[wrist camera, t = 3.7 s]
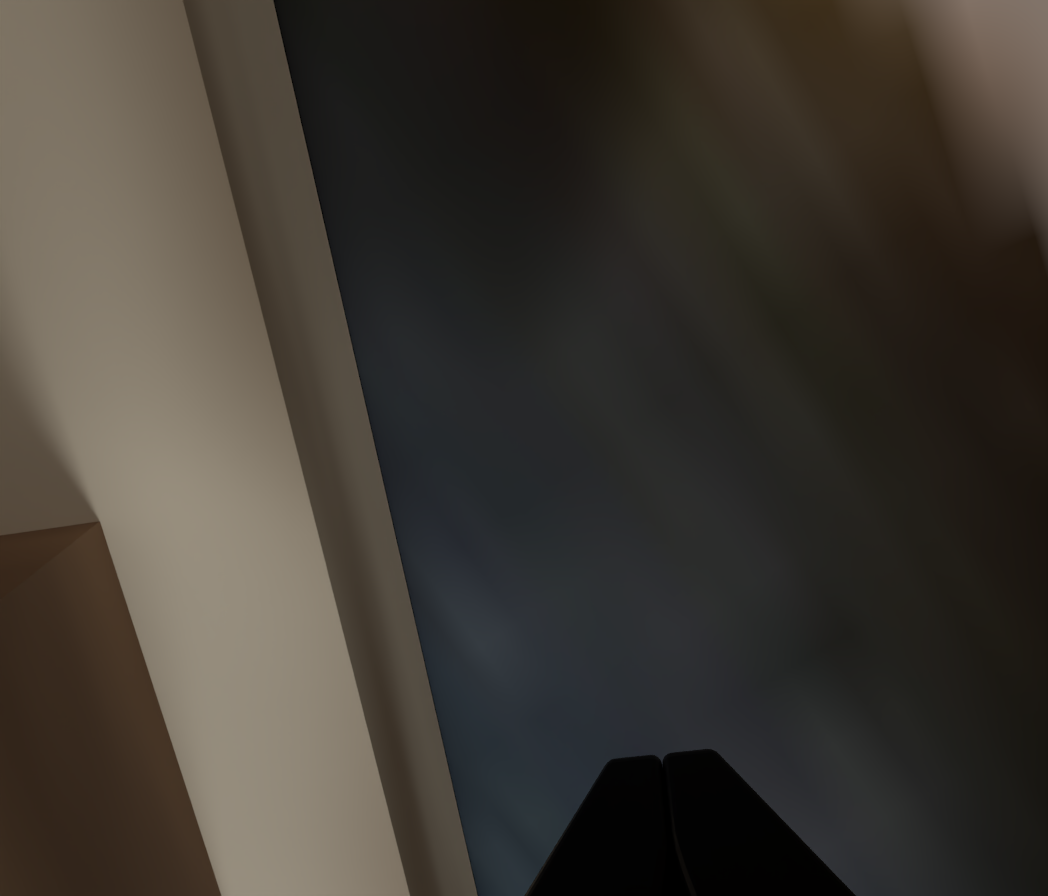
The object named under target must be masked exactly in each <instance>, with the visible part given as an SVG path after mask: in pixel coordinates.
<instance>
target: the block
mask: <svg viewBox="0 0 1048 896" xmlns="http://www.w3.org/2000/svg"><path fill="white" fill-rule="evenodd" d="M0 896H221V893H220V890H219V887H218V884H217V881H216V878H215V874H214V871H213V868H212V865H211V862H210V859H209V856H208V853H207V850H206V847H205V844H204V841H203V837H202V834H201V831H200V828H199V825H198V822H197V819H196V816H195V813H194V810H193V807H192V804H191V800H190V797H189V794H188V791H187V788H186V785H185V782H184V779H183V776H182V773H181V770H180V767H179V764H178V760H177V757H176V754H175V751H174V748H173V745H172V742H171V739H170V736H169V733H168V730H167V727H166V723H165V720H164V717H163V714H162V711H161V708H160V705H159V702H158V699H157V696H156V693H155V690H154V687H153V683H152V680H151V677H150V674H149V671H148V668H147V665H146V662H145V659H144V656H143V653H142V650H141V646H140V643H139V640H138V637H137V634H136V631H135V628H134V625H133V622H132V619H131V616H130V613H129V610H128V606H127V603H126V600H125V597H124V594H123V591H122V588H121V585H120V582H119V579H118V576H117V573H116V569H115V566H114V563H113V560H112V557H111V554H110V551H109V548H108V545H107V542H106V539H105V536H104V532H103V529H102V526H101V523H100V521H98V522H91V523H84V524H77V525H70V526H63V527H56V528H49V529H42V530H35V531H28V532H21V533H14V534H7V535H0Z"/></svg>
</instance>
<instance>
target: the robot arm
mask: <svg viewBox="0 0 1048 896" xmlns="http://www.w3.org/2000/svg"><path fill="white" fill-rule="evenodd" d="M525 896H856V895H855V894H854V893H853V892H852V891H851V890H850V889H849V888H848V887H847V886H846V885H845V884H844V883H843V882H842V881H841V880H840V879H839V878H838V877H837V876H836V875H835V874H834V873H833V872H832V871H831V870H830V869H829V867H828V866H827V865H826V864H825V863H824V862H823V861H822V860H821V859H820V858H819V857H818V856H817V855H816V854H815V853H814V852H813V851H812V850H811V849H810V848H809V847H808V846H807V845H806V844H805V843H804V842H803V841H802V840H801V839H800V837H799V836H798V835H797V834H796V833H795V832H794V831H793V830H792V829H791V828H790V827H789V826H788V825H787V824H786V823H785V822H784V821H783V820H782V819H781V818H780V817H779V816H778V815H777V814H776V813H775V812H774V811H773V810H772V809H771V807H770V806H769V805H768V804H767V803H766V802H765V801H764V800H763V799H762V798H761V797H760V796H759V795H758V794H757V793H756V792H755V791H754V790H753V789H752V788H751V787H750V786H749V785H748V784H747V783H746V782H745V781H744V780H743V779H742V778H741V776H740V775H739V774H738V773H737V772H736V771H735V770H734V769H733V768H732V767H731V766H730V765H729V764H728V763H727V762H726V761H725V760H724V759H723V758H722V757H721V756H720V755H719V754H718V753H717V752H716V751H714V750H712V749H702V750H693V751H684V752H674V753H669V754H667V755H666V756H665V757H664V759H663V767H662V763H661V760H660V759H659V758H658V757H657V756H655V755H646V756H636V757H626V758H616V759H612V760H610V761H609V762H608V763H607V764H606V765H605V766H604V768H603V770H602V771H601V773H600V775H599V776H598V778H597V779H596V781H595V783H594V784H593V786H592V787H591V789H590V791H589V792H588V794H587V796H586V797H585V799H584V800H583V802H582V804H581V805H580V807H579V809H578V810H577V812H576V813H575V815H574V817H573V818H572V820H571V821H570V823H569V825H568V826H567V828H566V830H565V831H564V833H563V834H562V836H561V838H560V839H559V841H558V843H557V844H556V846H555V847H554V849H553V851H552V852H551V854H550V855H549V857H548V859H547V860H546V862H545V864H544V865H543V867H542V868H541V870H540V872H539V873H538V875H537V876H536V878H535V880H534V881H533V883H532V885H531V886H530V888H529V889H528V891H527V893H526V894H525Z"/></svg>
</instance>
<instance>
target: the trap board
mask: <svg viewBox="0 0 1048 896" xmlns="http://www.w3.org/2000/svg"><path fill="white" fill-rule="evenodd" d="M98 521H100V523H101V526H102V529H103V532H104V536H105V539H106V542H107V545H108V548H109V551H110V554H111V557H112V560H113V563H114V566H115V569H116V573H117V576H118V579H119V582H120V585H121V588H122V591H123V594H124V597H125V600H126V603H127V606H128V610H129V613H130V616H131V619H132V622H133V625H134V628H135V631H136V634H137V637H138V640H139V643H140V646H141V650H142V653H143V656H144V659H145V662H146V665H147V668H148V671H149V674H150V677H151V680H152V683H153V687H154V690H155V693H156V696H157V699H158V702H159V705H160V708H161V711H162V714H163V717H164V720H165V723H166V727H167V730H168V733H169V736H170V739H171V742H172V745H173V748H174V751H175V754H176V757H177V760H178V764H179V767H180V770H181V773H182V776H183V779H184V782H185V785H186V788H187V791H188V794H189V797H190V800H191V804H192V807H193V810H194V813H195V816H196V819H197V822H198V825H199V828H200V831H201V834H202V837H203V841H204V844H205V847H206V850H207V853H208V856H209V859H210V862H211V865H212V868H213V871H214V874H215V878H216V881H217V884H218V887H219V890H220V893H221V896H478V895H477V891H476V887H475V882H474V878H473V874H472V869H471V865H470V860H469V856H468V852H467V847H466V843H465V838H464V834H463V830H462V825H461V821H460V817H459V812H458V808H457V803H456V799H455V795H454V790H453V786H452V781H451V777H450V773H449V768H448V764H447V760H446V755H445V751H444V746H443V742H442V738H441V733H440V729H439V725H438V720H437V716H436V711H435V707H434V703H433V698H432V694H431V689H430V685H429V681H428V676H427V672H426V668H425V663H424V659H423V654H422V650H421V646H420V641H419V637H418V633H417V628H416V624H415V619H414V615H413V611H412V606H411V602H410V597H409V593H408V589H407V584H406V580H405V576H404V571H403V567H402V562H401V558H400V554H399V549H398V545H397V541H396V536H395V532H394V527H393V523H392V519H391V514H390V510H389V505H388V501H387V497H386V492H385V488H384V484H383V479H382V475H381V470H380V466H379V462H378V457H377V453H376V448H375V444H374V440H373V435H372V431H371V427H370V422H369V418H368V413H367V409H366V405H365V400H364V396H363V392H362V387H361V383H360V378H359V374H358V370H357V365H356V361H355V356H354V352H353V348H352V343H351V339H350V335H349V330H348V326H347V321H346V317H345V313H344V308H343V304H342V300H341V295H340V291H339V286H338V282H337V278H336V273H335V269H334V264H333V260H332V256H331V251H330V247H329V243H328V238H327V234H326V229H325V225H324V221H323V216H322V212H321V208H320V203H319V199H318V194H317V190H316V186H315V181H314V177H313V172H312V168H311V164H310V159H309V155H308V151H307V146H306V142H305V137H304V133H303V129H302V124H301V120H300V116H299V111H298V107H297V102H296V98H295V94H294V89H293V85H292V80H291V76H290V72H289V67H288V63H287V59H286V54H285V50H284V45H283V41H282V37H281V32H280V28H279V23H278V19H277V15H276V10H275V6H274V2H273V0H0V535H7V534H14V533H21V532H28V531H35V530H42V529H49V528H56V527H63V526H70V525H77V524H84V523H91V522H98Z"/></svg>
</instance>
